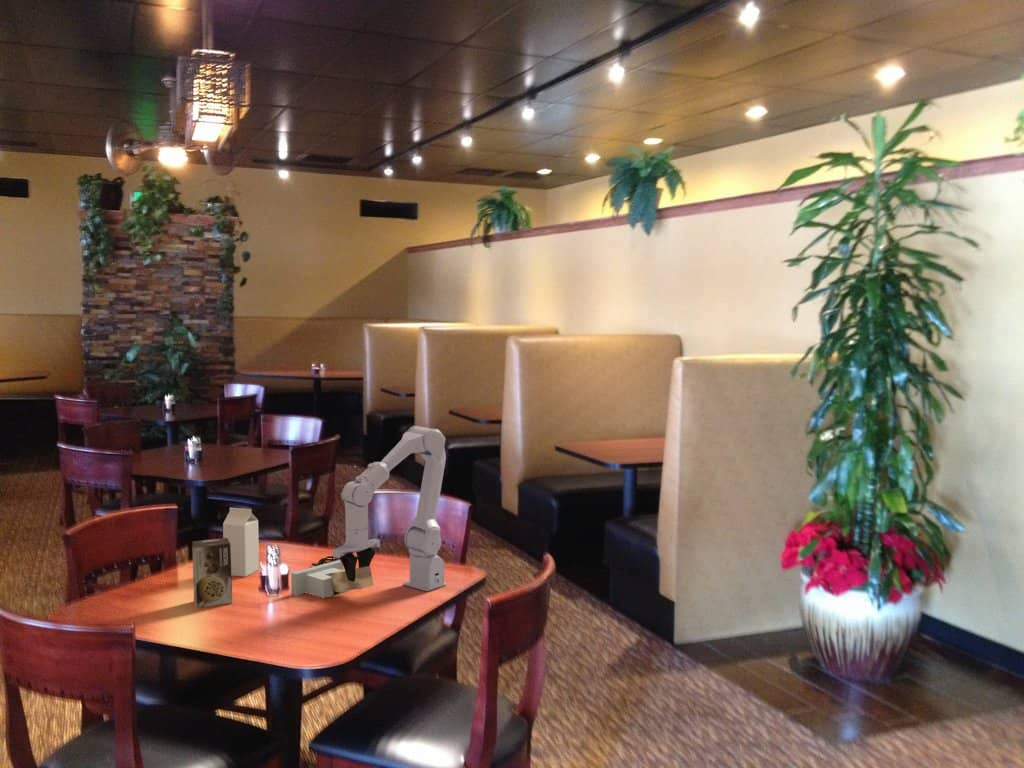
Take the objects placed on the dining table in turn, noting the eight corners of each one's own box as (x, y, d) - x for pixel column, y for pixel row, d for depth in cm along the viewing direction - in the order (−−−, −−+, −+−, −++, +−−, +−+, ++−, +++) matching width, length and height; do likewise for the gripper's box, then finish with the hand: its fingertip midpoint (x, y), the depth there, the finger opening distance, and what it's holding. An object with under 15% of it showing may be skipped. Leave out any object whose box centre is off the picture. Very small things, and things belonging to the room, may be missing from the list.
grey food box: (229, 596, 234) (228, 537, 233) (232, 603, 228) (231, 542, 227) (193, 601, 230) (191, 540, 229) (195, 608, 224) (194, 546, 223)
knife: (306, 585, 245) (306, 580, 245) (285, 583, 247) (285, 578, 247) (346, 561, 270) (345, 556, 270) (326, 559, 271) (326, 554, 271)
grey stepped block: (359, 587, 242) (359, 566, 242) (312, 601, 230) (312, 579, 229) (338, 580, 248) (338, 560, 247) (291, 594, 236) (291, 572, 235)
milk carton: (245, 577, 251) (244, 511, 249) (223, 575, 253) (222, 510, 251) (259, 570, 258) (258, 506, 256) (238, 568, 260) (236, 505, 258)
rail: (373, 585, 229) (369, 566, 229) (363, 588, 226) (359, 569, 227) (337, 589, 238) (334, 571, 239) (327, 593, 236) (324, 574, 236)
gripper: (367, 520, 237) (367, 569, 238) (324, 530, 226) (325, 582, 227) (385, 524, 233) (385, 574, 234) (342, 535, 222) (343, 587, 223)
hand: (357, 578), depth 230 cm, fingers closed on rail, 3 cm apart
